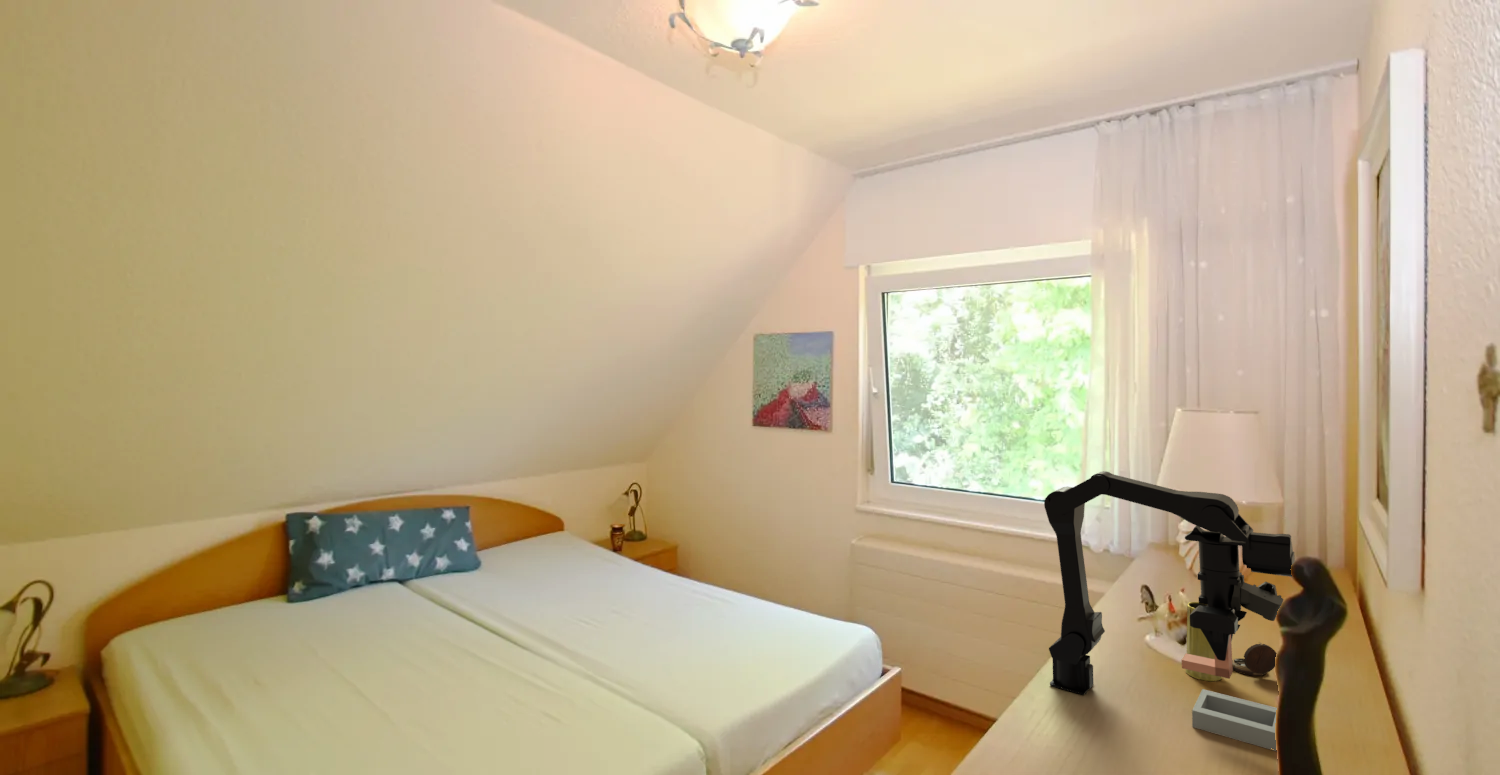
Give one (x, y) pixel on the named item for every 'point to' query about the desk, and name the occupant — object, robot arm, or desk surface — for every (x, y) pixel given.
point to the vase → (1198, 645)
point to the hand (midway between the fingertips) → (1223, 656)
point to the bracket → (1210, 664)
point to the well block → (1235, 718)
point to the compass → (1256, 660)
